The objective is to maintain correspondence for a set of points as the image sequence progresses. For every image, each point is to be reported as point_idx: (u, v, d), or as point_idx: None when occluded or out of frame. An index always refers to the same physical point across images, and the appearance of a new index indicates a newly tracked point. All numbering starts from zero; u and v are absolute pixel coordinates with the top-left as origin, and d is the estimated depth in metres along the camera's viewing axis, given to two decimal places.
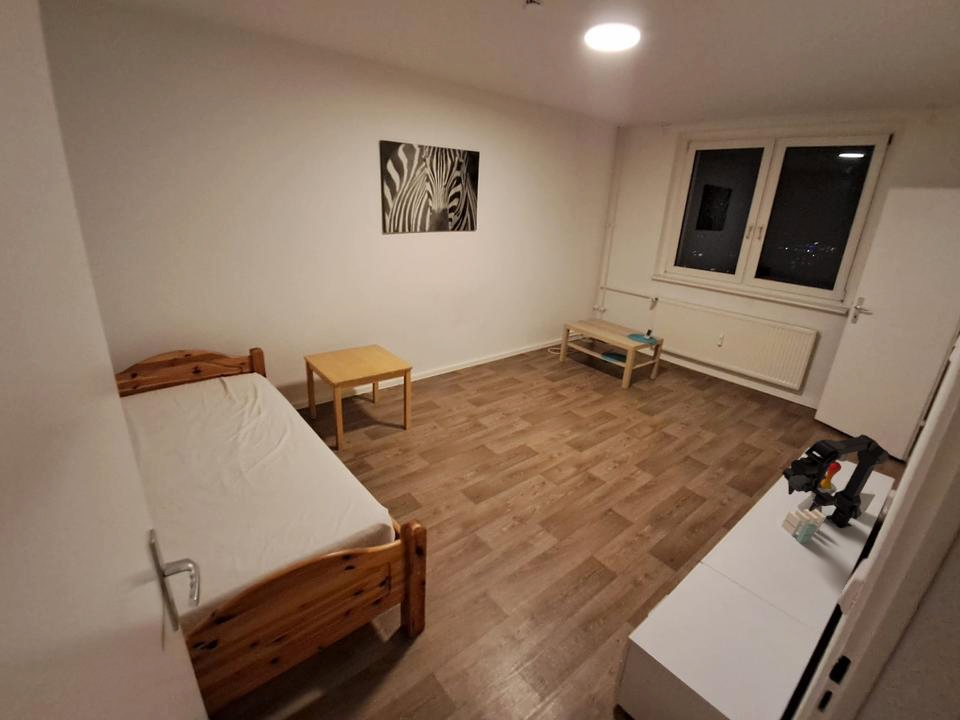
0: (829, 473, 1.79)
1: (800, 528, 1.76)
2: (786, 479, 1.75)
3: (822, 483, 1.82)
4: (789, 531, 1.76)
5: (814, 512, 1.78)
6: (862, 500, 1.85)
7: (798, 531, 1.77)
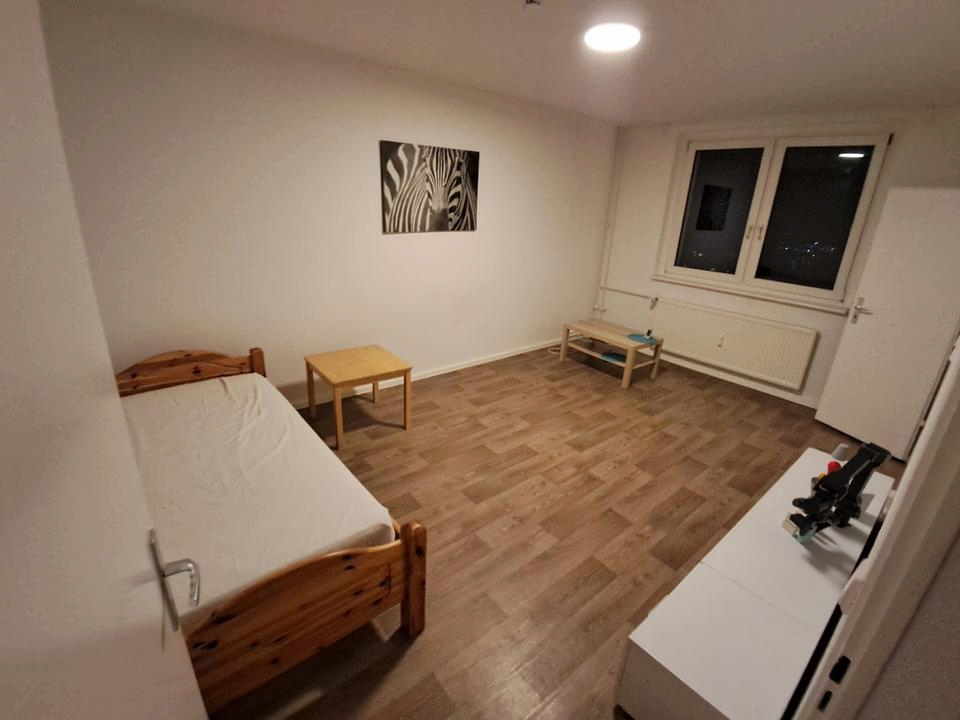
0: None
1: None
2: None
3: None
4: (789, 531, 1.76)
5: None
6: (862, 500, 1.85)
7: (798, 531, 1.77)
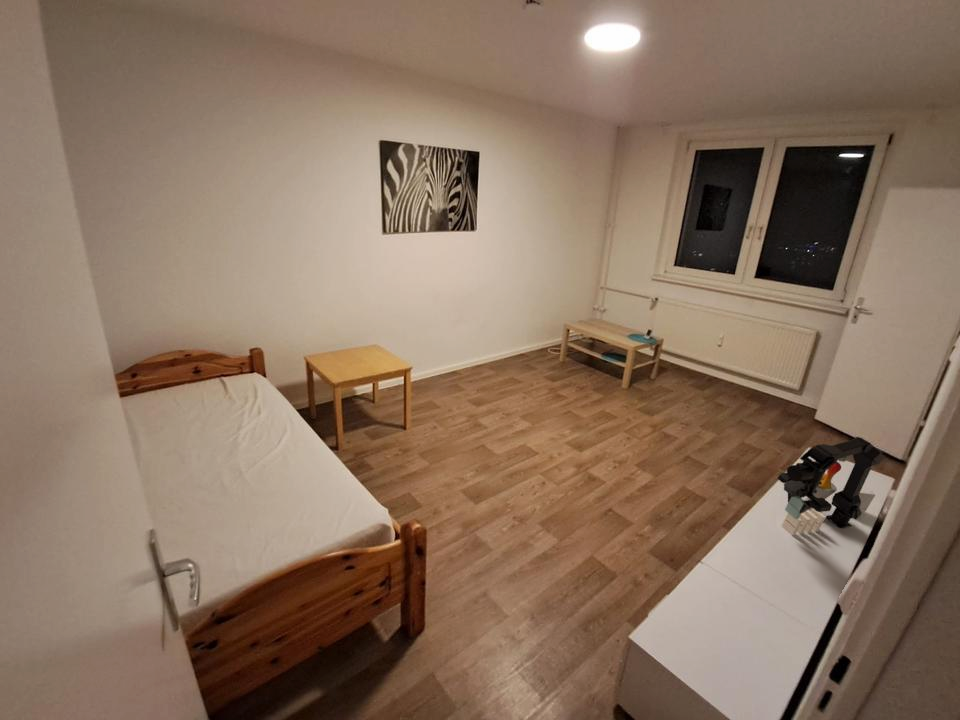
0: (829, 473, 1.79)
1: (800, 528, 1.76)
2: None
3: (822, 483, 1.82)
4: (789, 531, 1.76)
5: (814, 512, 1.78)
6: (862, 500, 1.85)
7: (798, 531, 1.77)
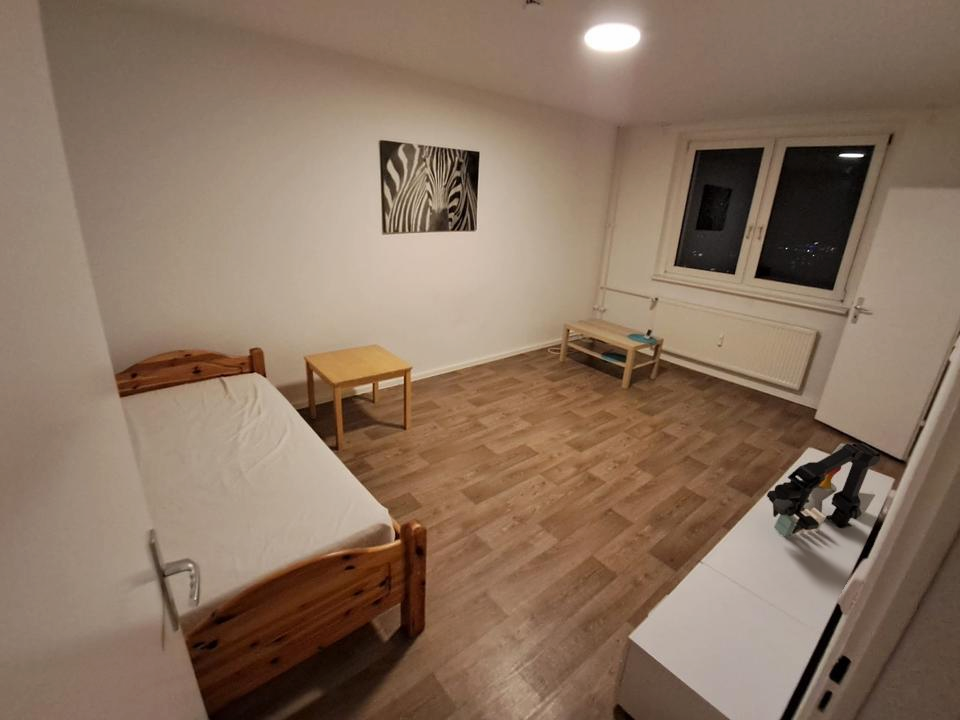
0: (829, 473, 1.79)
1: None
2: None
3: (822, 483, 1.82)
4: None
5: (814, 512, 1.78)
6: (862, 500, 1.85)
7: None
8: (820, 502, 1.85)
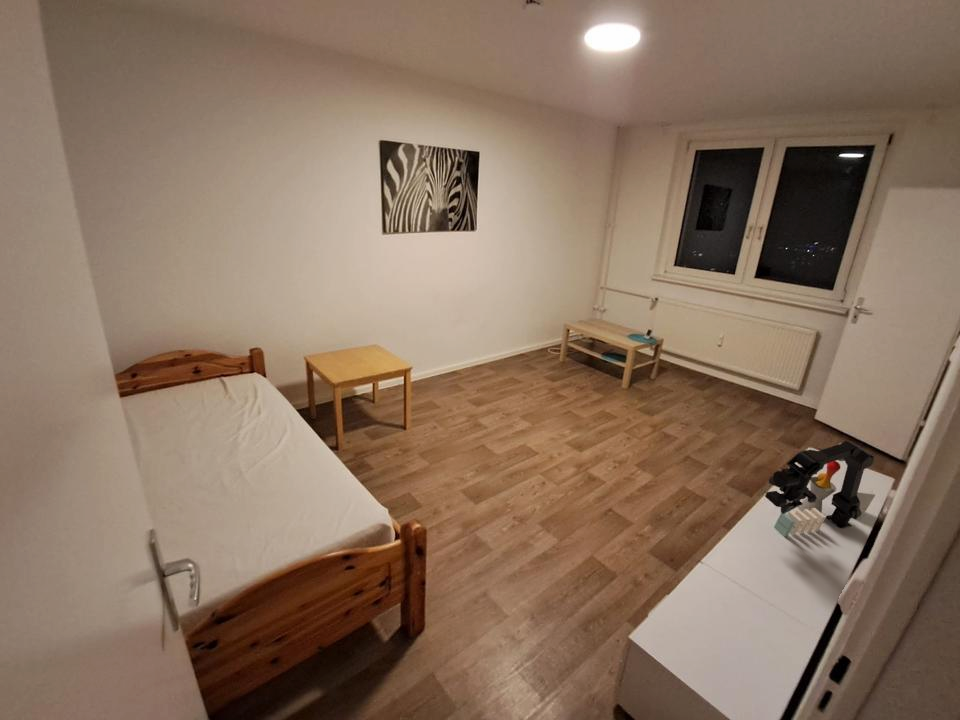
0: (828, 473, 1.79)
1: (800, 528, 1.76)
2: None
3: (821, 483, 1.82)
4: None
5: (814, 512, 1.78)
6: (862, 500, 1.85)
7: (798, 531, 1.77)
8: (820, 502, 1.85)
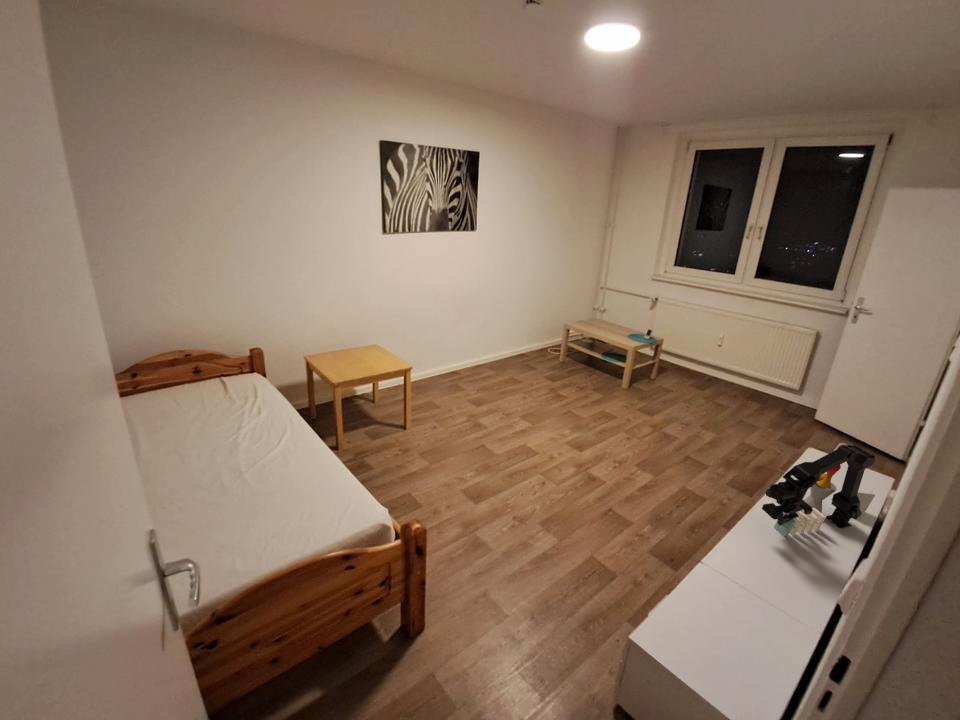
0: (829, 473, 1.79)
1: (800, 528, 1.76)
2: None
3: (822, 483, 1.82)
4: None
5: (814, 512, 1.78)
6: (862, 500, 1.85)
7: (798, 531, 1.77)
8: (820, 502, 1.85)
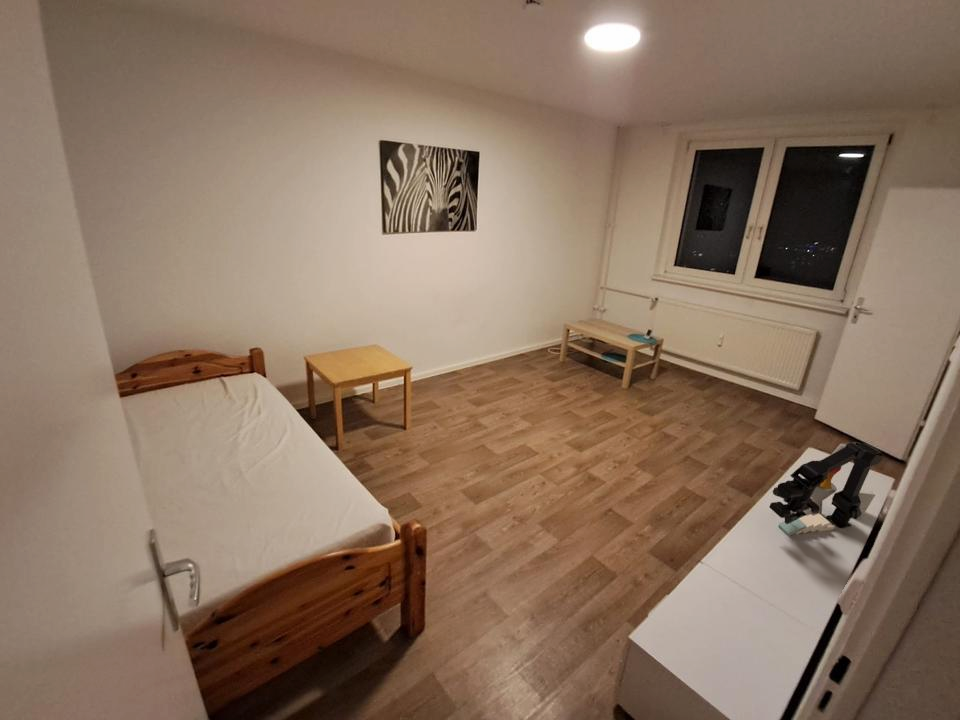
0: (829, 473, 1.79)
1: None
2: None
3: (822, 483, 1.82)
4: None
5: None
6: (862, 500, 1.85)
7: None
8: (820, 502, 1.85)
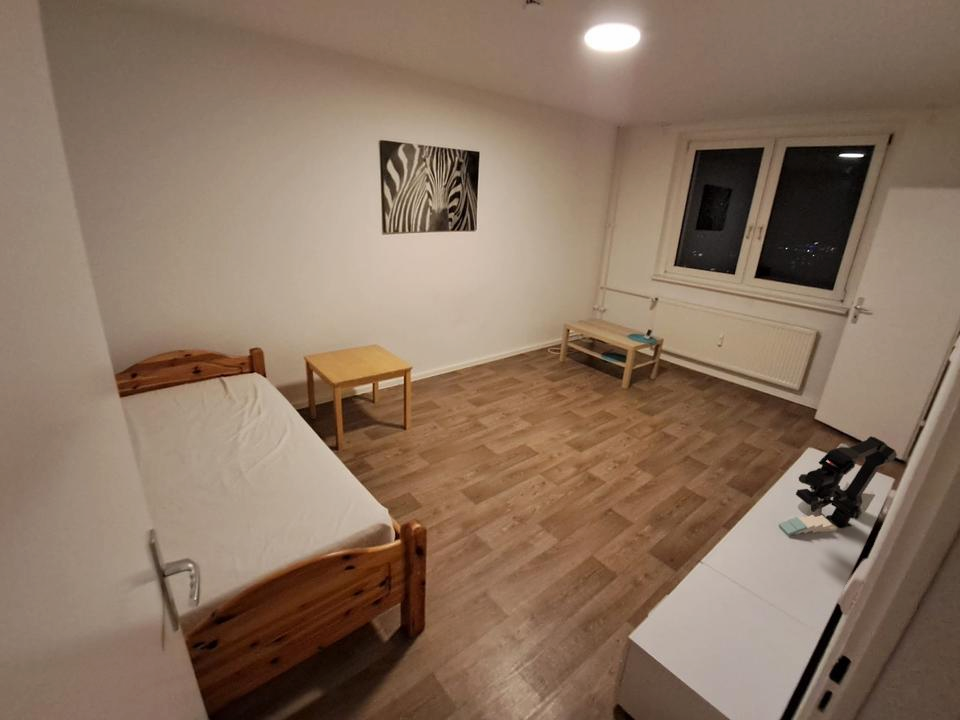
0: None
1: None
2: None
3: None
4: None
5: None
6: (862, 500, 1.85)
7: None
8: None
